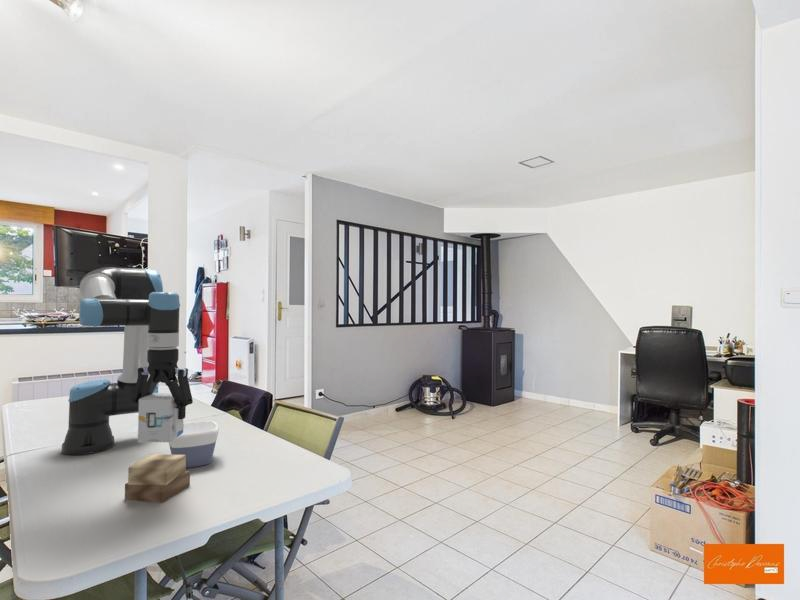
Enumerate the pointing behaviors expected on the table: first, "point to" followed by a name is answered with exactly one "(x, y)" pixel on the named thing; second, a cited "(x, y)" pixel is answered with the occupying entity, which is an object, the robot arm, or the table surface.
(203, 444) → the bowl
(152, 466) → the tower top
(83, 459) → the table surface
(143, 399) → the ink box
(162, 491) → the tower base
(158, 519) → the table surface
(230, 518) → the table surface
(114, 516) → the table surface
